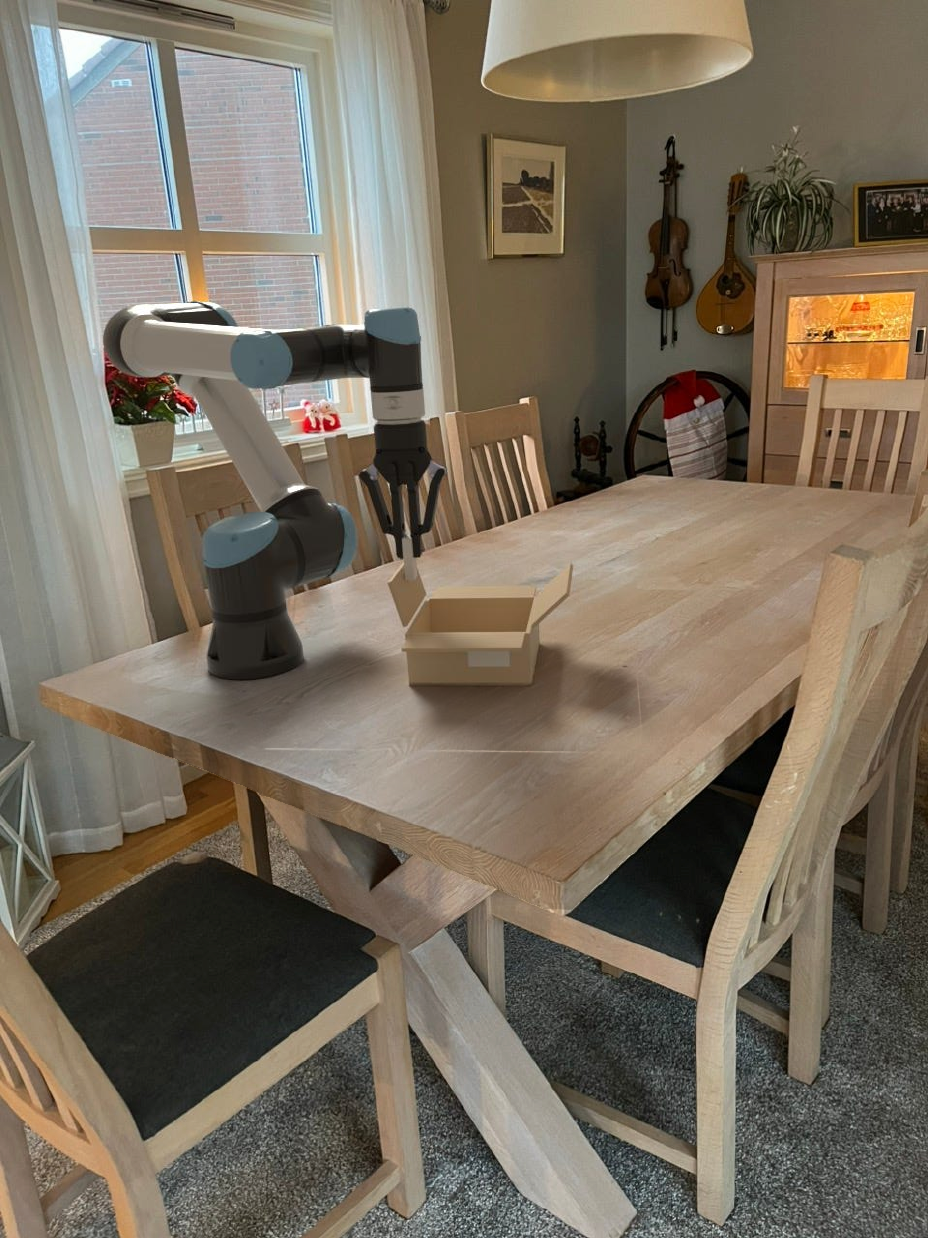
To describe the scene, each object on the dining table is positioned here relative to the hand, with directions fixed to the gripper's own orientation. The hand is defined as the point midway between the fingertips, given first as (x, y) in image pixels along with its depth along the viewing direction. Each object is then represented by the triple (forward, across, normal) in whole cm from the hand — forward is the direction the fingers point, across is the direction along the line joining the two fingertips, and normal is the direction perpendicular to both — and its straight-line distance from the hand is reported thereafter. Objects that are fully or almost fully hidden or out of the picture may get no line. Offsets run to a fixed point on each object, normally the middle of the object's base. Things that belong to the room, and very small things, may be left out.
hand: (411, 578), depth 147 cm
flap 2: (+6, +18, 0) cm, 19 cm away
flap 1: (+6, 0, 0) cm, 6 cm away
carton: (+14, +9, 0) cm, 17 cm away
